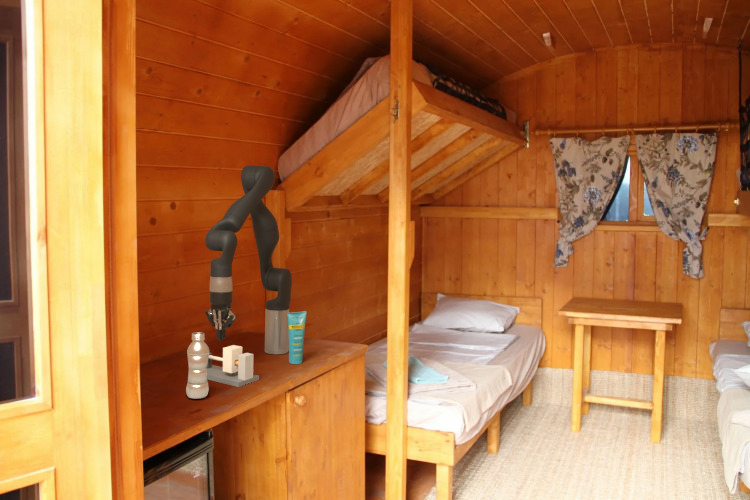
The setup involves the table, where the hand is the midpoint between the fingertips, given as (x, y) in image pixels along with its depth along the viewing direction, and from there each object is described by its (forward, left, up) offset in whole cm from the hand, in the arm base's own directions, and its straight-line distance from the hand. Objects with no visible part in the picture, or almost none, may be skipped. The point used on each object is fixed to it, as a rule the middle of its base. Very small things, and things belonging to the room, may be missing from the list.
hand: (220, 339), depth 226 cm
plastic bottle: (+21, +11, -13) cm, 27 cm away
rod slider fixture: (0, +2, -13) cm, 13 cm away
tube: (-30, +9, -13) cm, 34 cm away
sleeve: (0, +6, -10) cm, 11 cm away
